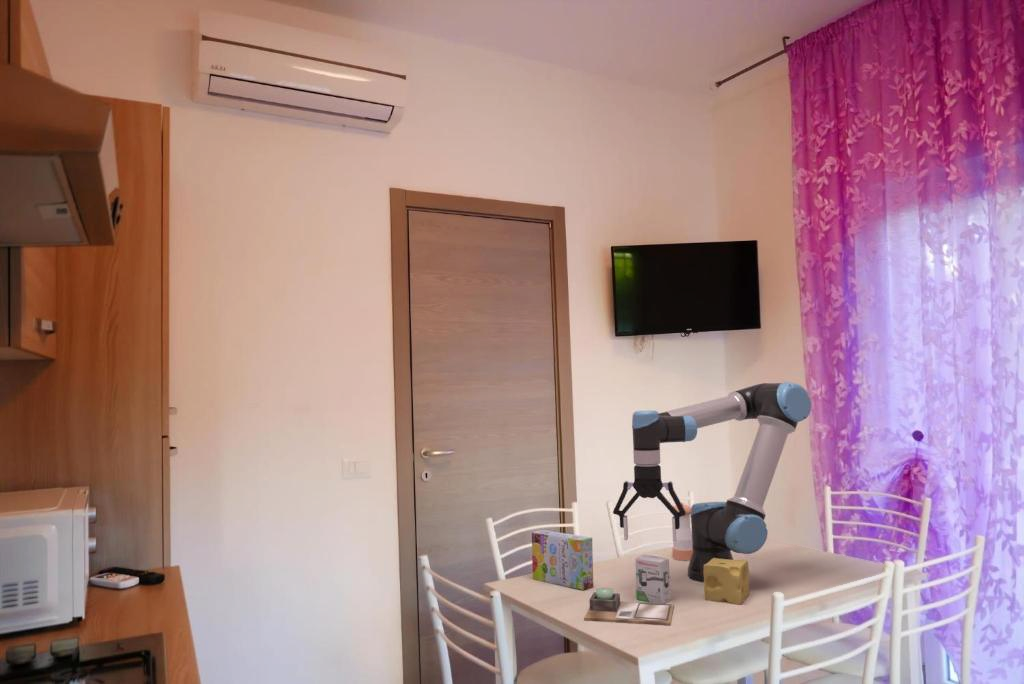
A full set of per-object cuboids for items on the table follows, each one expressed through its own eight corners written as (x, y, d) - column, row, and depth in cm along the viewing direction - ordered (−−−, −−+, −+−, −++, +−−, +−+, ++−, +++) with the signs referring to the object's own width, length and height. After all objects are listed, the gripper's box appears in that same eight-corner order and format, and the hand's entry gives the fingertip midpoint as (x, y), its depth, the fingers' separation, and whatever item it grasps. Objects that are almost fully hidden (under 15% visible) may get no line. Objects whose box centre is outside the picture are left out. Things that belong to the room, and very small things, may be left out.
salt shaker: (672, 555, 255) (669, 501, 256) (693, 555, 254) (690, 501, 255) (673, 560, 248) (671, 504, 249) (695, 560, 247) (692, 504, 248)
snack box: (595, 587, 218) (593, 536, 219) (583, 591, 214) (581, 539, 215) (543, 575, 233) (541, 528, 234) (531, 579, 229) (530, 531, 230)
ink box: (635, 599, 204) (633, 557, 205) (644, 595, 208) (642, 554, 209) (662, 604, 199) (661, 561, 199) (671, 600, 202) (669, 557, 203)
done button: (614, 599, 198) (613, 588, 198) (611, 603, 194) (611, 592, 194) (598, 598, 199) (597, 587, 199) (595, 603, 195) (595, 591, 195)
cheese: (741, 605, 196) (739, 568, 197) (702, 600, 202) (700, 564, 203) (750, 595, 205) (749, 560, 206) (713, 590, 211) (711, 556, 212)
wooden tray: (673, 606, 197) (673, 593, 197) (670, 625, 182) (669, 611, 182) (594, 602, 203) (593, 589, 203) (584, 620, 188) (583, 606, 188)
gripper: (692, 463, 206) (695, 538, 205) (605, 463, 213) (608, 535, 212) (691, 466, 199) (694, 544, 197) (601, 466, 206) (604, 541, 204)
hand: (650, 540), depth 205 cm, fingers open, 13 cm apart
